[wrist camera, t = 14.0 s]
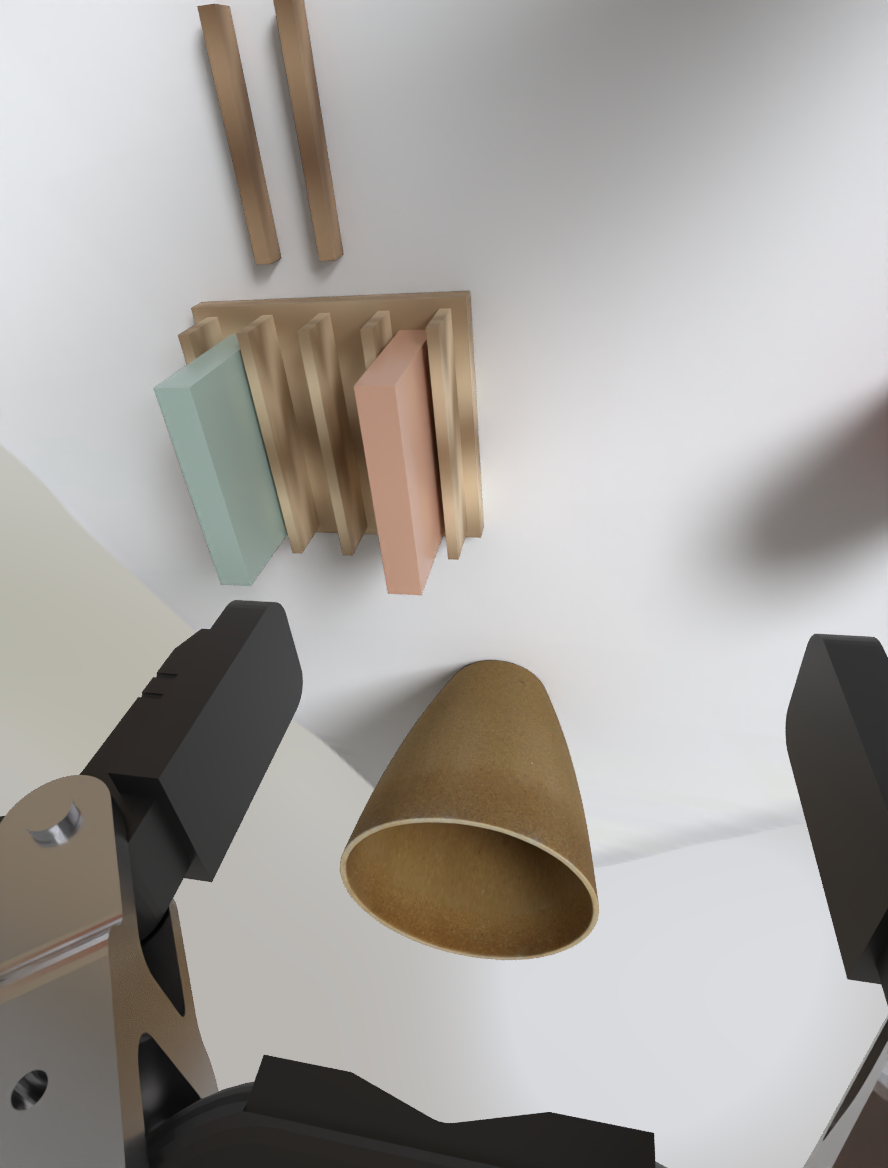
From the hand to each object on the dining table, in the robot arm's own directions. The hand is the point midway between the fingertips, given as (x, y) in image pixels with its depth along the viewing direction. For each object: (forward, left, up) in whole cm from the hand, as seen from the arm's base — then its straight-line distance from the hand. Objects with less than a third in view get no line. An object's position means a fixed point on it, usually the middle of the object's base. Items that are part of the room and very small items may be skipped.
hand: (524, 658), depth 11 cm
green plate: (+8, -18, -27) cm, 33 cm away
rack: (+8, -13, -28) cm, 32 cm away
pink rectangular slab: (+8, -8, -27) cm, 29 cm away
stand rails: (-6, -14, -28) cm, 32 cm away
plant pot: (+30, -5, -28) cm, 42 cm away
